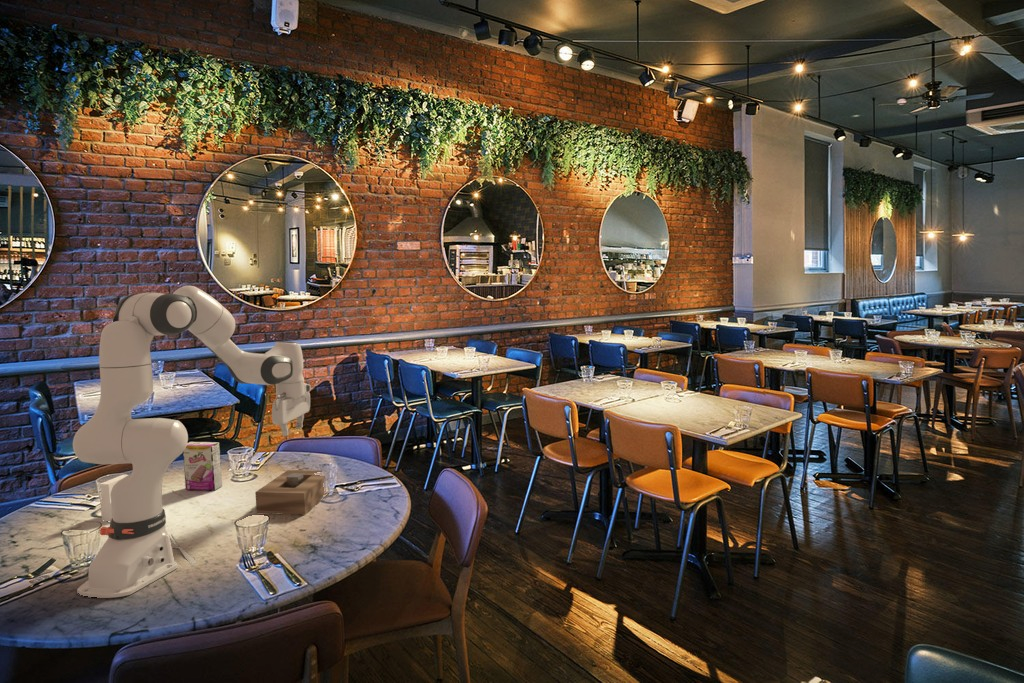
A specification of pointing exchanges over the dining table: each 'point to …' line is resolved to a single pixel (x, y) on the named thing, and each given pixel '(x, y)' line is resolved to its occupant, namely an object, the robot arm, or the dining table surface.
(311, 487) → the walnut well
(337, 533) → the dining table surface
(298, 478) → the gray rectangular block
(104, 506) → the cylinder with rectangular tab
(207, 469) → the candy bar box
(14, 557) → the dining table surface
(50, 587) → the dining table surface
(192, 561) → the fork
